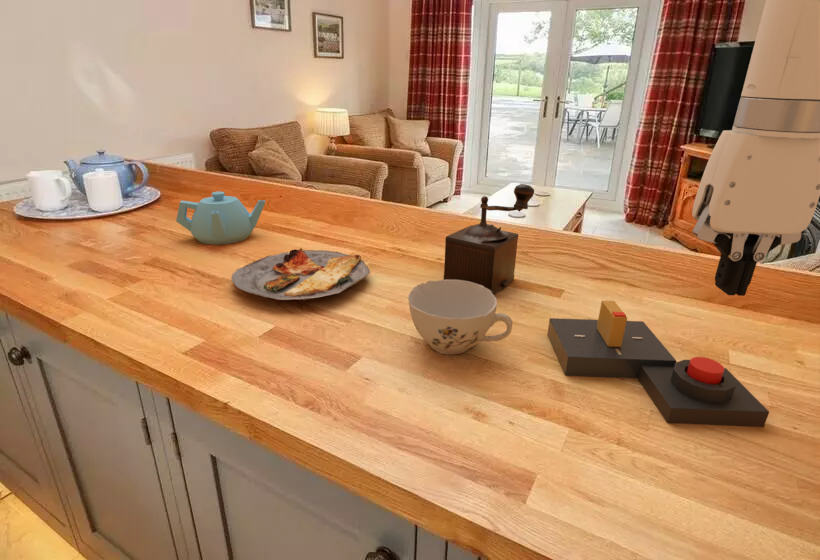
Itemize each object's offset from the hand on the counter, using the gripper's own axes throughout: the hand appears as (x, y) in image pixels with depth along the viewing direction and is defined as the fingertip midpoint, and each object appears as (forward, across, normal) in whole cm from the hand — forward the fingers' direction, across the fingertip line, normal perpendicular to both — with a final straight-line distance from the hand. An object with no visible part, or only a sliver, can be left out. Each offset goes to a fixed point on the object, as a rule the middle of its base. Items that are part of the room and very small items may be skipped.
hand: (729, 290), depth 55 cm
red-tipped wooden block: (+12, +8, -10) cm, 18 cm away
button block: (+15, 0, 0) cm, 15 cm away
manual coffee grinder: (+15, +22, -38) cm, 46 cm away
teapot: (+15, +82, -58) cm, 102 cm away
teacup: (+15, +29, -11) cm, 35 cm away
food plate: (+15, +57, -33) cm, 68 cm away
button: (+12, 0, 0) cm, 12 cm away
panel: (+15, +8, -10) cm, 20 cm away
